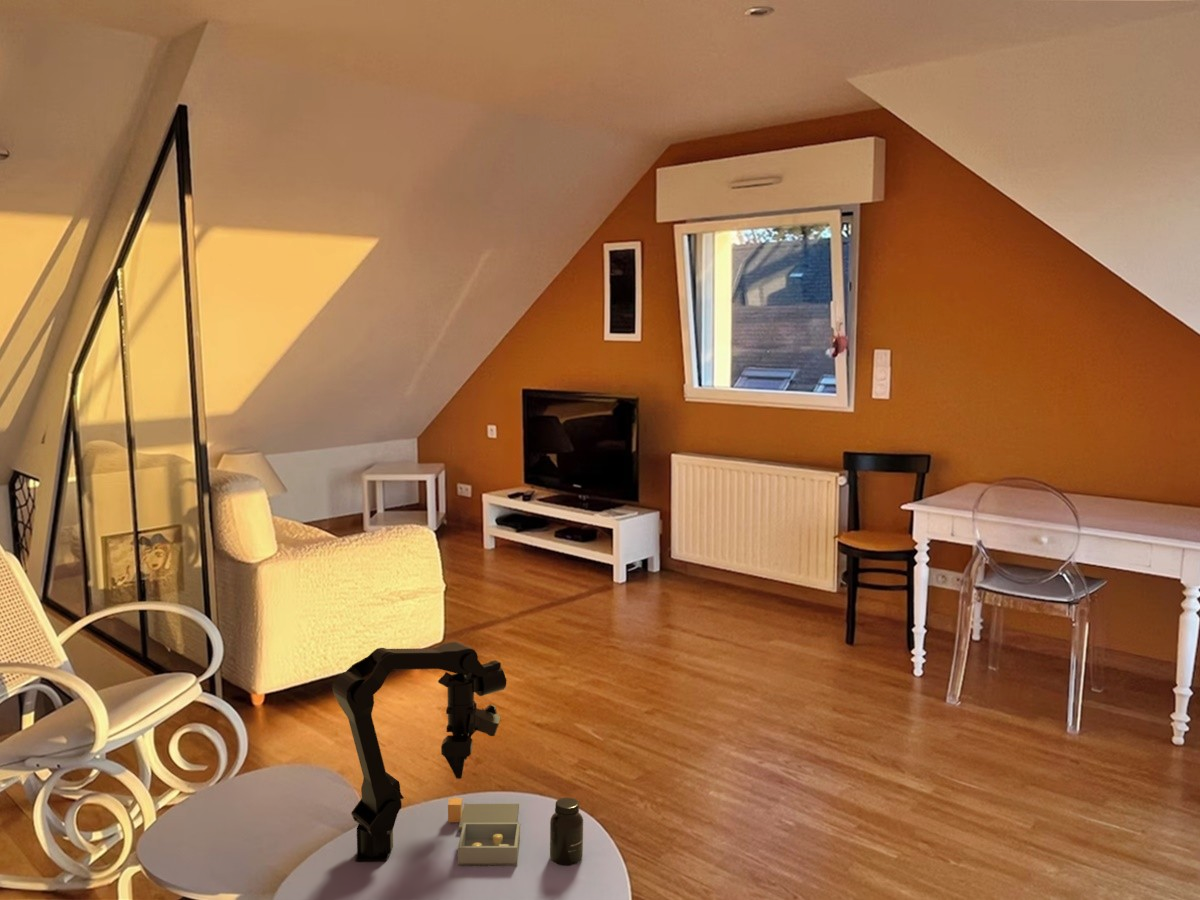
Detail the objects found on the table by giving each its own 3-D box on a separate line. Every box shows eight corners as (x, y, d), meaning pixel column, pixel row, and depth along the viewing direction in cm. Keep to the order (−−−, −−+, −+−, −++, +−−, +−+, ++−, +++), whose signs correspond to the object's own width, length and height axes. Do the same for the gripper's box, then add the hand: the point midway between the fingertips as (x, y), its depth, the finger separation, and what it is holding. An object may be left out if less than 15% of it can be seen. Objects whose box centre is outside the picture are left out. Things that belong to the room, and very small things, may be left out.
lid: (445, 834, 204) (445, 813, 204) (452, 811, 215) (452, 790, 214) (516, 834, 205) (515, 812, 204) (519, 811, 215) (519, 790, 215)
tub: (457, 866, 192) (457, 847, 191) (463, 840, 202) (463, 822, 201) (517, 866, 192) (517, 847, 192) (520, 840, 202) (520, 822, 201)
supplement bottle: (578, 869, 191) (579, 812, 190) (546, 865, 193) (546, 809, 191) (586, 851, 198) (586, 796, 197) (554, 847, 199) (554, 793, 198)
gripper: (493, 717, 198) (494, 788, 200) (501, 685, 216) (501, 750, 218) (440, 717, 197) (441, 788, 199) (452, 685, 216) (453, 750, 218)
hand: (461, 768), depth 209 cm, fingers open, 9 cm apart
